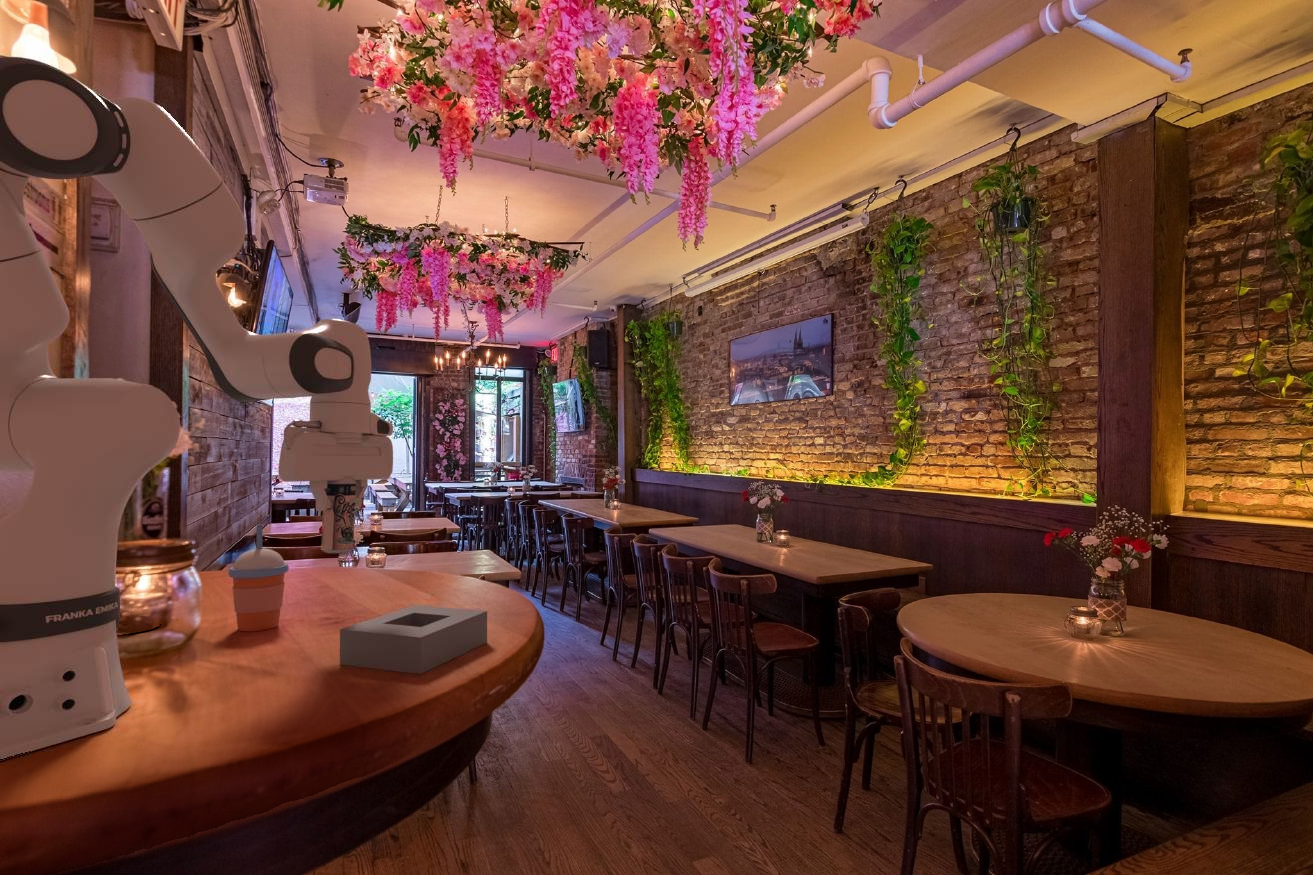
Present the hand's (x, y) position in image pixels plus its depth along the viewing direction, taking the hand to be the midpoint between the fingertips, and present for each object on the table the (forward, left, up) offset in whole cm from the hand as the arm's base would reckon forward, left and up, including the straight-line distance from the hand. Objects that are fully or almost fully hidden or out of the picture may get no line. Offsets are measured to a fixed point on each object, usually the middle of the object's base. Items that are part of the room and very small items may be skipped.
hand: (339, 509), depth 105 cm
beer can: (0, 0, -7) cm, 7 cm away
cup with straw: (+4, +22, -22) cm, 31 cm away
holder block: (0, -15, -21) cm, 26 cm away
